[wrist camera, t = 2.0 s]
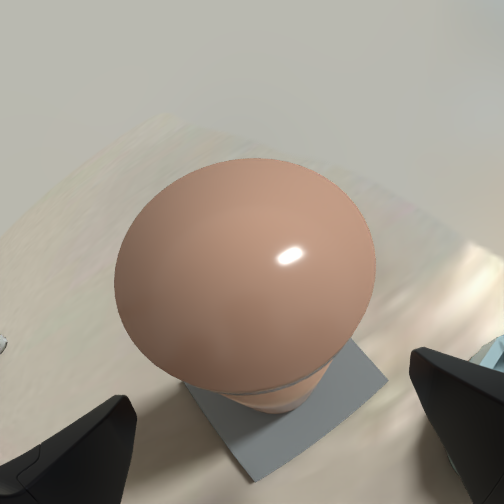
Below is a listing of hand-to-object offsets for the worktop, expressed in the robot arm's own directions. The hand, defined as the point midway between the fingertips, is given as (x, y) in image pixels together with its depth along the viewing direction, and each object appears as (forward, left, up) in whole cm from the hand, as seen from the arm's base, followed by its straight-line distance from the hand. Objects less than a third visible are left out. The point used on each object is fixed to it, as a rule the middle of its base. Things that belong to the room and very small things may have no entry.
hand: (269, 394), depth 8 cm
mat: (+1, +1, -10) cm, 10 cm away
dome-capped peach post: (+1, +2, -10) cm, 10 cm away
